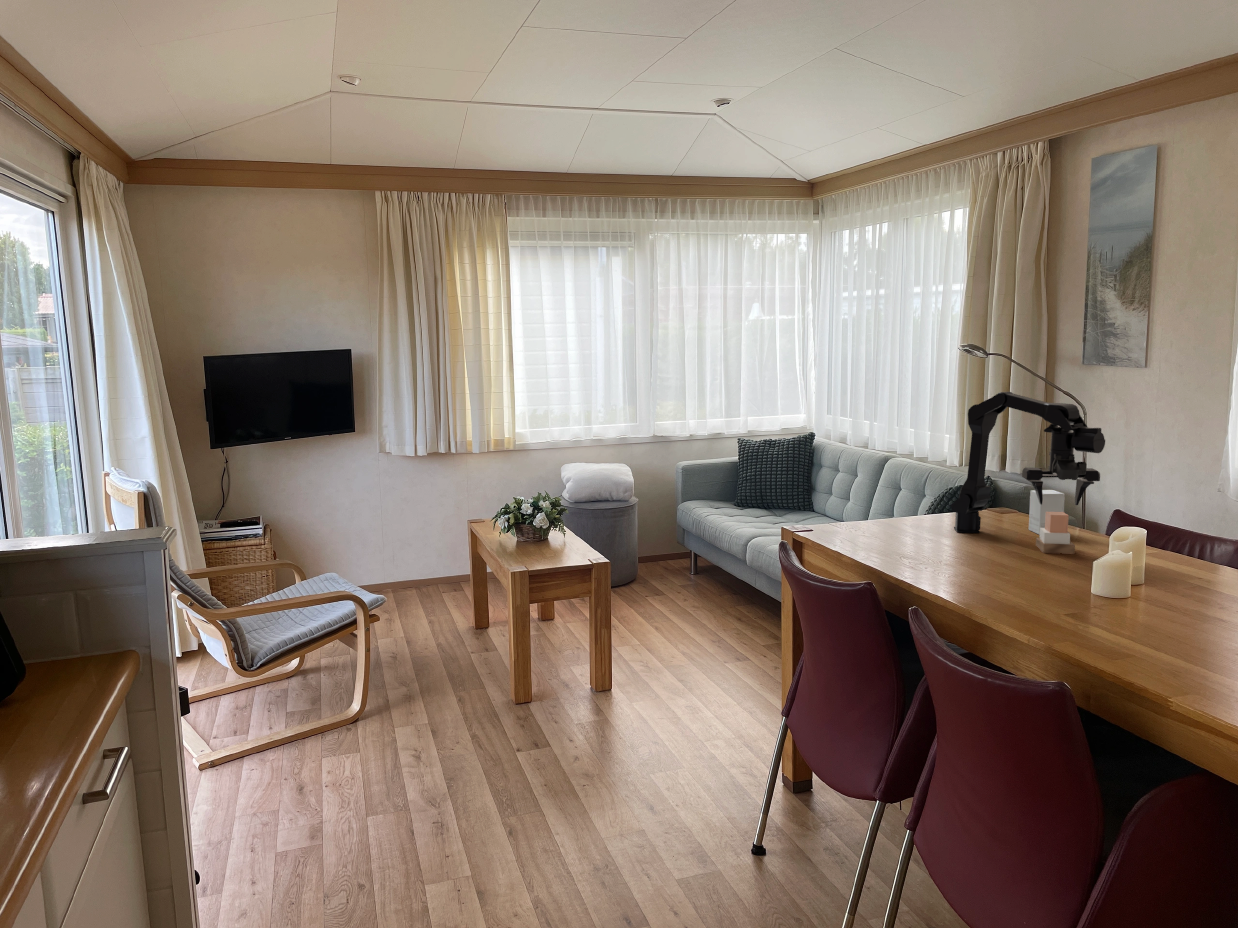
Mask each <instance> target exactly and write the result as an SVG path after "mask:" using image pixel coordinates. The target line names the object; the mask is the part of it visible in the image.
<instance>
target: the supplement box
mask: <svg viewBox="0 0 1238 928" xmlns="http://www.w3.org/2000/svg"><path fill="white" fill-rule="evenodd" d="M1029 491H1030V494H1029V516H1028V531H1031V532H1033V533H1034V534H1037V535H1039V536H1040V528H1045V515H1046V512H1064V513H1065V498H1066V497H1065V495H1066V494H1065V493H1064V492H1060V491H1058V490H1054V489H1042V494H1043V501H1042V505H1041V504H1040V503H1039V500H1038V497H1037V494H1036V491H1035V489H1034V490H1032V489H1031V490H1029Z"/></svg>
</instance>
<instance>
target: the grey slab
mask: <svg viewBox="0 0 1238 928" xmlns="http://www.w3.org/2000/svg"><path fill="white" fill-rule="evenodd" d="M1038 538H1040V539H1041V540H1042V542H1043V543H1049V544H1070V542H1071V533H1070V532H1069V531H1068V533H1050V532H1048V531H1047V530H1046V529H1045V528H1040V535H1039V537H1038Z"/></svg>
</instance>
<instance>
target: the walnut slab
mask: <svg viewBox="0 0 1238 928" xmlns="http://www.w3.org/2000/svg"><path fill="white" fill-rule="evenodd" d="M1036 546H1037V547H1038V548H1039V549H1040V550H1039V549H1038V548H1037V547H1036ZM1035 547H1036V548H1037V549H1038V550H1039V551H1040V552H1042V553H1043V554H1060V553H1062V554H1063V555H1064V554H1065V555H1066V554H1067V555H1069V554H1071V555H1074V554H1076V553H1075V552H1076V544H1074V543H1073V542H1072V541H1070V544H1049V543H1043V542H1042V540H1041V539H1040V538H1039V537H1035Z"/></svg>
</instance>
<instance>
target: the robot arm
mask: <svg viewBox="0 0 1238 928" xmlns="http://www.w3.org/2000/svg"><path fill="white" fill-rule="evenodd" d="M1007 408H1010V409H1012V410H1013V409H1014V410H1018V411H1020V412H1024V413H1028V414H1031V415H1035V416H1038V417H1040V418H1042V419H1043V421H1046V422H1048V423H1049V425H1048V426H1047V427H1046V428H1044V430H1043V432H1044V433H1050V434H1051V437H1050V451H1049V454H1048V455H1049V465H1048V470H1042V469H1040V468H1039V467H1026V466H1025V467H1023V469H1022V470H1021V471H1022V473H1021V477H1022V478H1023V479H1025V480H1026V481H1028V482H1029V483H1031V484H1032V486H1033V489H1034V490H1035V491H1036V494H1037V497H1038V500H1039V503H1040V504H1041V505H1042V501H1043V494H1042V490H1043V484H1044V481H1043V480H1042V479H1043V478H1057V479H1058V480H1059V481H1064V480H1072V481H1075V483H1076V484H1075V493H1074V504H1075V506H1079V504H1080V501H1081V499H1082V497H1083V496H1084V493H1085V491H1086V490H1087V488H1088V487H1089V486H1091V485H1094V484H1095V482H1101V473H1100V471H1098V470H1096V469H1095V468H1087V465H1088V464H1087V463H1086V461H1078V462H1076V460H1075V458H1076V457H1075V454H1074V451H1076V452H1082V453H1083V452H1084V453H1092V454H1100V453H1102V452H1103V450H1104V448H1105V447H1106V446H1105V445H1106V439H1105V436H1104V433H1102V428H1101V427H1088V424H1086V422H1085V420H1084V419H1083V417H1082V416H1081V414H1080V410H1079V409H1078V406H1077V405H1076V404H1073V403H1065V402H1047V401H1043V400H1039V399H1036V398H1032V397H1029V396H1024V395H1021V394H1017V393H1013V392H1011V391H1000V392H998V393H996V394H995V395H993V396H992V397H990V398H987V399H986V400H984V401H982V402H980V403H977V404H973V405H972V406H970V407H969V408H968V410H967V424H968V427H969V429H970V431H971V439H970V449H969V458H968V466H967V467H968V468H967V477H966V480H965V482H964V483H963V485H962V486H961V488H960V491H959V495H958V498H957V499H956V500H955V501H954V502H952V504H951V505H950V508H951V512H952V513H955V519H954V520H955V522H954V526H953V529H954V530H955V532H957V533H967V534H970V533H971V534H973V533H975V534H980V530H981V520H982V519H981V516H980V512H983V509H984V507H985V505H987V504H988V502H989V500H991V491H992V486H991V485H987V483H986V481H985V479H986V478H985V477H986V467H987V457H988V450H989V441H990V435H991V434H990V433H992V431H993V429H994V428H995V426H996V423H997V419H998V416H999V415H1000V414H1002V413H1003V412H1004V411H1006V409H1007Z"/></svg>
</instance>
